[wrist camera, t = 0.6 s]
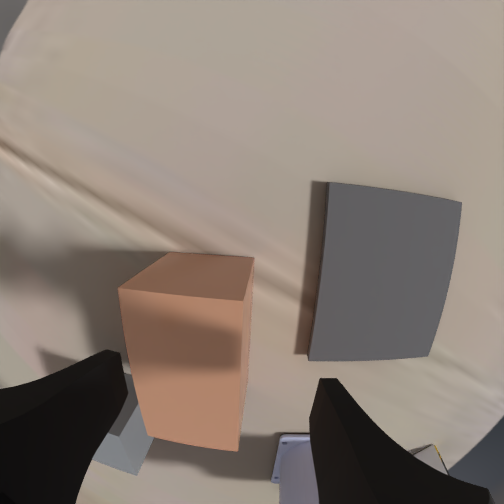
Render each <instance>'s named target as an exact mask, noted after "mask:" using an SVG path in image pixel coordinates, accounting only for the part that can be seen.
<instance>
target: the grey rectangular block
mask: <svg viewBox="0 0 504 504" xmlns="http://www.w3.org/2000/svg"><path fill="white" fill-rule="evenodd" d="M124 375H125V380H126V384H127V389H128V396H127V398H126V401H125V403H124V405H123V408H122V410H121V412H120V414H119V416H118V417H117V419H116V421H115V422H114V424H113V425H112V427H111V429H110V430H109V432H108V433H107V435H106V437H105V438H104V440H103V441H102V443H101V445H100V446H99V448H98V449H97V451H96V453H95V455H94V456H93V458H92V460H95V461H97V462H100V463H102V464H105V465H107V466H110V467H113V468H115V469H118V470H121V471H124V472H127V473H130V474H133V475H136V476H137V475H138V472H139V470H140V468H141V466H142V463H143V461H144V459H145V457H146V454H147V452H148V450H149V448H150V446H151V443H152V441H153V439H154V437H151V436H148V434H147V431H146V428H145V424H144V421H143V417H142V414H141V410H140V406H139V403H138V399H137V395H136V391H135V386H134V382H133V378H132V375H128V374H124Z"/></svg>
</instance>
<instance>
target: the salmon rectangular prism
mask: <svg viewBox="0 0 504 504" xmlns="http://www.w3.org/2000/svg"><path fill="white" fill-rule="evenodd" d="M253 274H254V258H252V257H237V256H222V255H207V254H192V253H177V252H169V253H167V254H166V255H164V256H163V257H162V258H160V259H159V260H157V261H156V262H154V263H153V264H151V265H150V266H148V267H147V268H145V269H144V270H143V271H141V272H140V273H138V274H137V275H135V276H134V277H132V278H131V279H130V280H128V281H127V282H125V283H124V284H122V285H121V286H120V287H118V294H119V302H120V310H121V317H122V324H123V331H124V337H125V343H126V348H127V354H128V359H129V364H130V369H131V373H132V378H133V382H134V386H135V391H136V395H137V399H138V403H139V406H140V410H141V414H142V417H143V421H144V424H145V428H146V431H147V434H148V436H151V437H155V438H160V439H164V440H168V441H173V442H178V443H183V444H188V445H193V446H199V447H205V448H212V449H219V450H227V451H237V452H238V447H239V440H240V433H241V426H242V419H243V412H244V405H245V398H246V391H247V383H248V366H249V348H250V330H251V311H252V293H253Z"/></svg>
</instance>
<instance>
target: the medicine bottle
mask: <svg viewBox="0 0 504 504" xmlns="http://www.w3.org/2000/svg"><path fill="white" fill-rule="evenodd" d="M413 456H415V457H416V458H418V459H419V460H421V461H423V462H424V463H426V464H428V465H429V466H431V467H433V468H434V469H436V470H438V471H440V472H442V473H444V474H447V475H449V473H448V471H447V469H446V466H445V464H444V462H443V460H442V458H441V456H440V454H439V452H438V450H437V448H436V446H435V445H431V446H429V447H427V448H426V449H424V450H422V451H420V452H418V453H416V454H415V455H413ZM449 476H450V475H449Z"/></svg>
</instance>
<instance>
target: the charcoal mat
mask: <svg viewBox="0 0 504 504" xmlns="http://www.w3.org/2000/svg"><path fill="white" fill-rule="evenodd" d="M461 207H462V202H458V201H453V200H448V199H443V198H437V197H432V196H426V195H421V194H415V193H409V192H402V191H396V190H389V189H382V188H375V187H367V186H359V185H351V184H342V183H332V182H327V192H326V207H325V219H324V231H323V241H322V251H321V261H320V270H319V278H318V286H317V294H316V301H315V309H314V316H313V322H312V329H311V335H310V342H309V348H308V354H307V356H308V361H370V360H390V359H404V358H416V357H426V356H428V355H429V352H430V349H431V346H432V343H433V340H434V337H435V334H436V331H437V328H438V325H439V321H440V318H441V315H442V311H443V307H444V304H445V300H446V296H447V292H448V288H449V283H450V279H451V274H452V269H453V264H454V259H455V253H456V247H457V241H458V234H459V226H460V217H461Z"/></svg>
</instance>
